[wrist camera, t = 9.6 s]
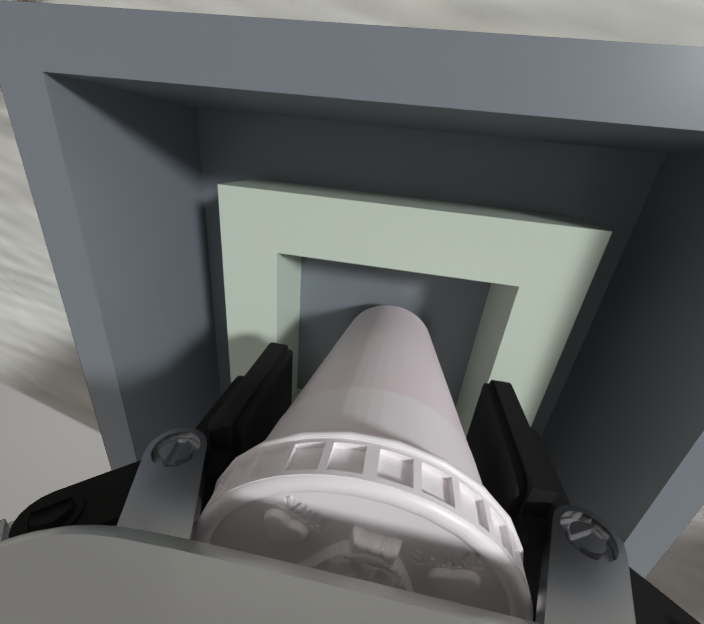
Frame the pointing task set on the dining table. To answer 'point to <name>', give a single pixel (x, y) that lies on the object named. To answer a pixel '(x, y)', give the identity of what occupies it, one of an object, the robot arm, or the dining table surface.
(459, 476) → the smoothie
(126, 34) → the bin
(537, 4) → the dining table surface
